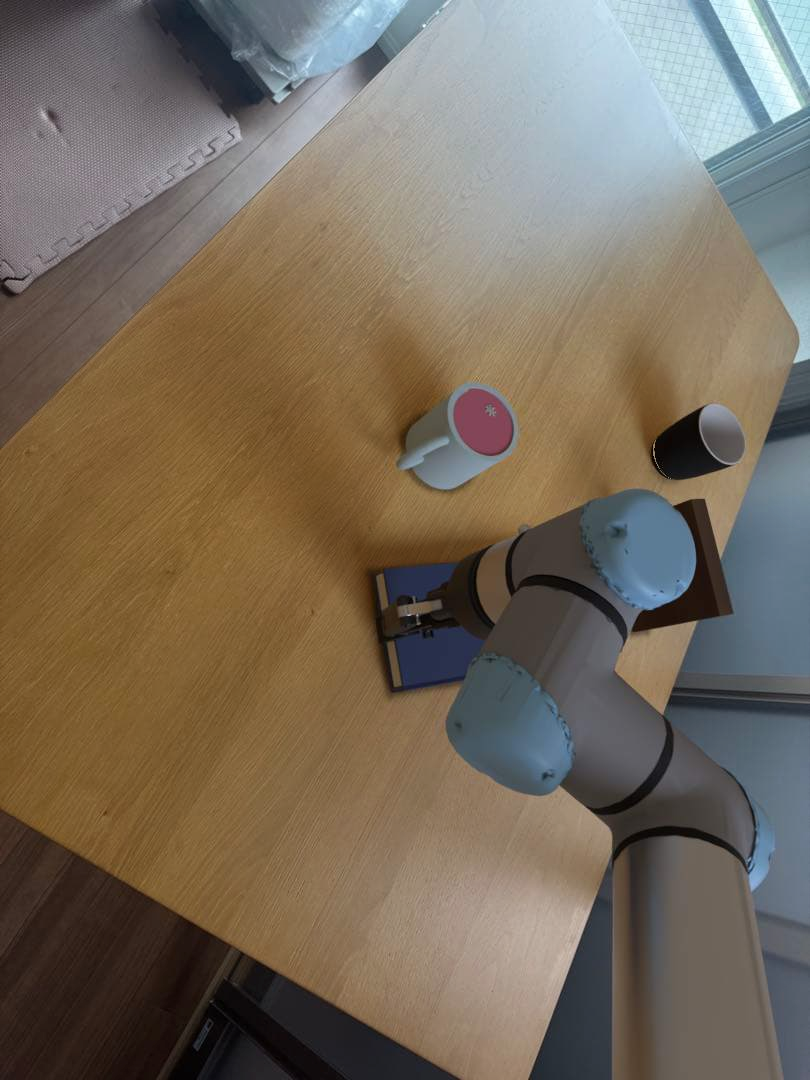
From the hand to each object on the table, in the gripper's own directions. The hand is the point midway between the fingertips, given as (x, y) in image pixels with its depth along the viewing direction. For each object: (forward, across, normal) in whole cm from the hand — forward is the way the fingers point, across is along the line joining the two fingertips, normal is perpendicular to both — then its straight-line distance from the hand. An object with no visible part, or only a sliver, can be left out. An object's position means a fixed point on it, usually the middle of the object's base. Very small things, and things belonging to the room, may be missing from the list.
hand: (382, 629), depth 77 cm
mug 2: (+2, -52, -20) cm, 56 cm away
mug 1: (+2, -10, -20) cm, 22 cm away
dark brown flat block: (+2, -38, -3) cm, 38 cm away
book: (+2, -13, 0) cm, 13 cm away
